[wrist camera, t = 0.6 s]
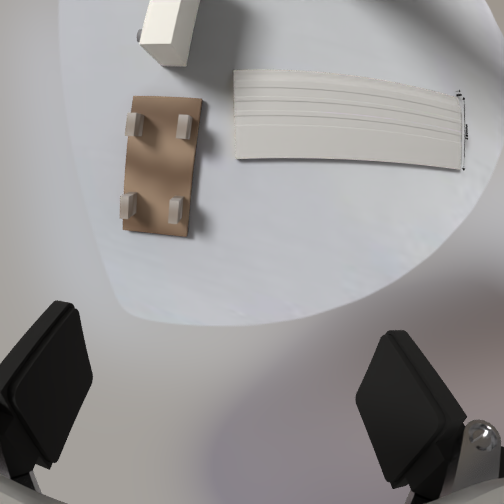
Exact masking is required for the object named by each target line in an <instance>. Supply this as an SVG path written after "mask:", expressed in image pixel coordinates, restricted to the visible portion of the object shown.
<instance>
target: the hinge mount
mask: <svg viewBox="0 0 504 504" xmlns="http://www.w3.org/2000/svg"><path fill="white" fill-rule="evenodd" d="M202 101H203V100H202V99H199V98H183V97H161V96H133V102H132V109H131V113H127V121H126V130H125V136H128V143H127V153H126V166H125V180H124V194H123V195H121V196H120V218H121V219H123V230H129V231H138V232H147V233H157V234H166V235H175V236H184V237H186V236H187V234H188V222H189V211H190V200H191V189H192V180H193V170H194V161H195V153H196V145H197V137H198V129H199V122H200V115H201V108H202Z"/></svg>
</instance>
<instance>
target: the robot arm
mask: <svg viewBox="0 0 504 504" xmlns="http://www.w3.org/2000/svg"><path fill="white" fill-rule="evenodd" d="M92 380H93V374H92V370H91V366H90V362H89V358H88V354H87V349H86V345H85V340H84V336H83V331H82V326H81V320H80V315H79V311H78V310H77V309H75V308H74V305H73V304H72V303H68V302H62V301H54V302H53V303H52V304H51V305H50V306H49V307H48V309H47V310H46V311H45V312H44V313H43V314H42V315H41V316H40V317H39V319H38V320H37V321H36V322H35V323H34V324H33V325H32V326H31V328H30V329H29V330H28V331H27V332H26V334H24V336H23V337H22V338H21V339H20V341H19V342H18V343H17V344H16V345H15V346H14V348H13V349H12V350H11V351H10V353H9V354H8V355H7V356H6V358H5V359H4V360H3V361H2V363H1V364H0V504H66V503H64V502H61V501H58V500H56V499H53V498H51V497H48V496H46V495H43V494H42V493H41V490H40V488H39V485H38V483H37V480H36V478H35V475H34V473H33V468H34V466H35V464H38V465H40V466H42V467H44V468H47V469H50V468H51V465H52V463H56V462H57V461H58V459H59V457H60V454H61V452H62V450H63V447H64V445H65V442H66V440H67V438H68V435H69V432H70V430H71V428H72V426H73V424H74V421H75V419H76V417H77V414H78V412H79V410H80V408H81V405H82V403H83V401H84V399H85V397H86V395H87V393H88V391H89V388H90V386H91V384H92ZM356 404H357V407H358V409H359V412H360V415H361V417H362V420H363V422H364V425H365V427H366V430H367V432H368V435H369V438H370V440H371V443H372V445H373V448H374V451H375V453H376V456H377V458H378V461H379V464H380V466H381V469H382V472H383V475H384V477H385V479H386V481H387V482H390V483H391V486H392V488H393V489H395V488H399V487H403V486H406V485H407V484H409V486H410V488H411V490H410V492H409V495H408V497H407V499H406V502H405V504H504V447H502V446H501V438H500V435H499V433H498V431H497V430H496V428H495V427H494V426H493V425H491V424H490V423H488V422H486V421H484V420H473V421H471V422H469V423H468V424H467V425H466V426H464V424H463V422H464V420H465V419H466V418H467V416H466V414H465V413H464V411H463V410H462V408H461V407H460V405H459V404H458V402H457V401H456V399H455V398H454V396H453V395H452V393H451V392H450V390H449V389H448V388H447V386H446V385H445V383H444V382H443V380H442V379H441V378H440V376H439V375H438V373H437V372H436V371H435V369H434V368H433V367H432V365H431V364H430V362H429V361H428V360H427V358H426V357H425V356H424V354H423V353H422V352H421V350H420V349H419V348H418V346H417V345H416V344H415V342H414V341H413V340H412V338H411V337H410V336H409V334H408V333H407V332H406V331H404V330H395V331H394V330H390V331H387V333H386V334H385V335H383V336H382V337H381V339H380V341H379V343H378V346H377V348H376V351H375V353H374V356H373V358H372V360H371V363H370V365H369V367H368V370H367V372H366V374H365V376H364V379H363V381H362V383H361V385H360V387H359V389H358V392H357V394H356Z"/></svg>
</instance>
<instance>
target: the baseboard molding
mask: <svg viewBox="0 0 504 504" xmlns="http://www.w3.org/2000/svg"><path fill="white" fill-rule="evenodd" d="M233 78H234V120H235V155H236V159H251V158H323V159H350V160H368V161H383V162H396V163H407V164H417V165H427V166H435V167H443V168H451V169H458V170H460V167H461V136H462V132H461V107H460V106H459V103H458V98H457V97H453V96H450V95H447V94H443V93H439V92H435V91H431V90H427V89H423V88H419V87H415V86H410V85H406V84H401V83H396V82H390V81H385V80H379V79H373V78H367V77H360V76H352V75H344V74H335V73H325V72H313V71H297V70H233ZM456 92H457V91H456ZM459 92H460V90H459ZM456 95H457V96H458V94H456ZM459 96H462V94H459ZM464 99H465V98H463V100H464ZM464 120H465V106H464ZM466 125H467V124H466ZM466 129H467V127H466ZM466 133H467V134H468V132H467V131H466ZM466 136H467V137H468V135H466ZM466 139H468V138H466ZM464 156H465V142H464ZM462 169H463V171H464V170H465V169H464V168H462Z"/></svg>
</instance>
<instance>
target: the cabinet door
mask: <svg viewBox="0 0 504 504" xmlns="http://www.w3.org/2000/svg"><path fill="white" fill-rule="evenodd" d="M199 3H200V0H150V2H149V6H148V9H147V13H146V17H145V21H144V25H143V29H140V30H139V31H138V33H137V41H138V42H139V45H140V46H141V47H143V48H144V49H145V50H146V51H147V52H148V53H149V54H150V55H151V56H152V57H153V58H154V59H155V60H156V61H157V62H158V63H159V64H160V65H161V66H182V67H186V66H187V60H188V55H189V50H190V45H191V40H192V35H193V30H194V25H195V21H196V16H197V12H198V7H199Z"/></svg>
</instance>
